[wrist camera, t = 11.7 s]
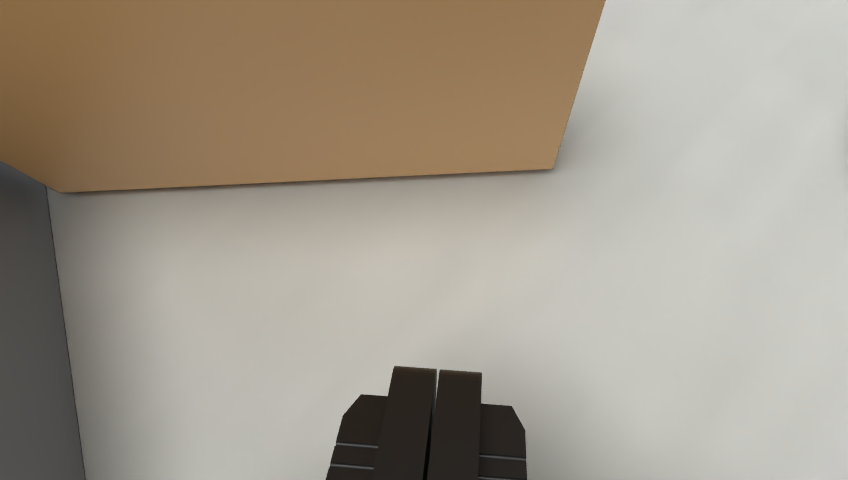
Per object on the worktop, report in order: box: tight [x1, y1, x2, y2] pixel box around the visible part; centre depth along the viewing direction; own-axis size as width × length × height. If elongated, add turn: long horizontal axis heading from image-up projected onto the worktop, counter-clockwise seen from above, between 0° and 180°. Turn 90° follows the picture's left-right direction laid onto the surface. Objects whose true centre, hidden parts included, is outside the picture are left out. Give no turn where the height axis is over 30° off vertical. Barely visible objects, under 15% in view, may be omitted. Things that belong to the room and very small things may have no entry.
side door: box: [0, 0, 606, 193], centre depth 16 cm, size 2×16×11 cm, turn 92°
